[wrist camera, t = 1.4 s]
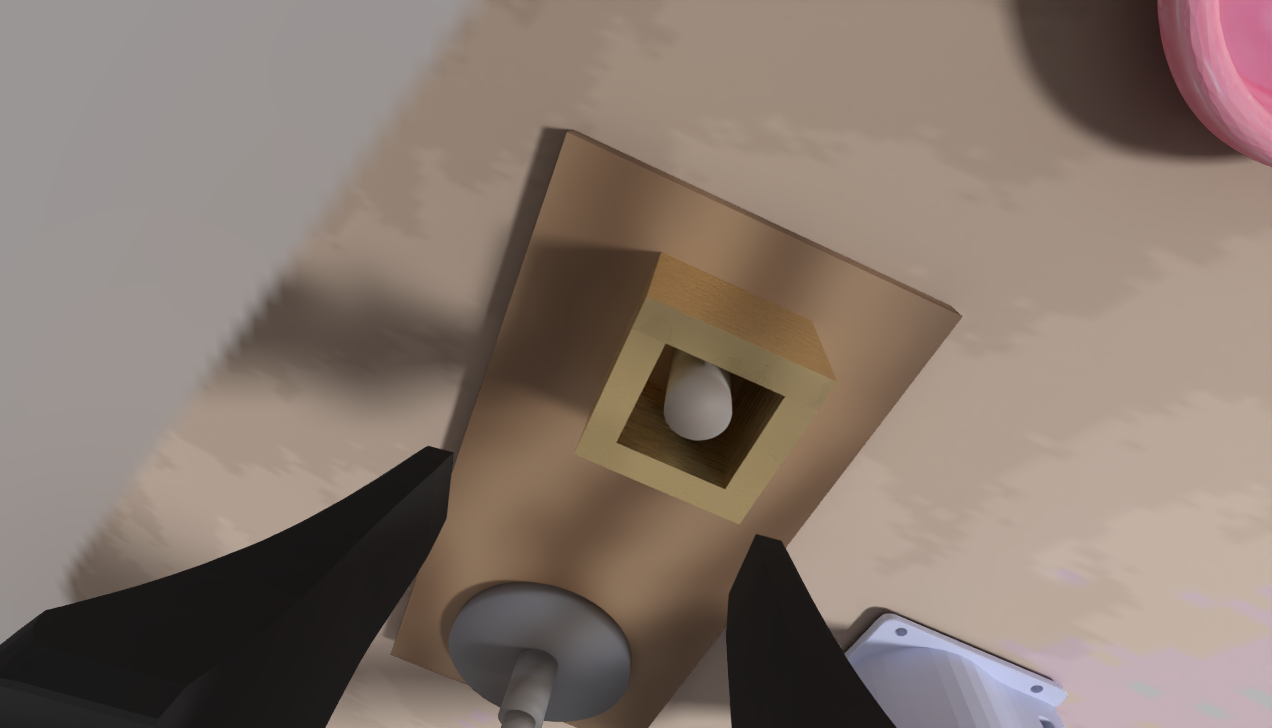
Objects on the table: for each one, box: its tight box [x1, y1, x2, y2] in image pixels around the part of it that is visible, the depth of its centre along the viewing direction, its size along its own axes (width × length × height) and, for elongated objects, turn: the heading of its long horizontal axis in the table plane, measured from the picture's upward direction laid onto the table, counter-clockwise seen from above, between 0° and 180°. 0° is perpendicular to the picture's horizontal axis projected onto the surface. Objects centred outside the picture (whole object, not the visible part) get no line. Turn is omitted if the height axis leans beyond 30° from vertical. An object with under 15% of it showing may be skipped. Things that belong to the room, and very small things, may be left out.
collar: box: [574, 252, 837, 524], centre depth 18 cm, size 6×6×4 cm
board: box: [391, 130, 962, 728], centre depth 23 cm, size 14×28×5 cm, turn 157°
